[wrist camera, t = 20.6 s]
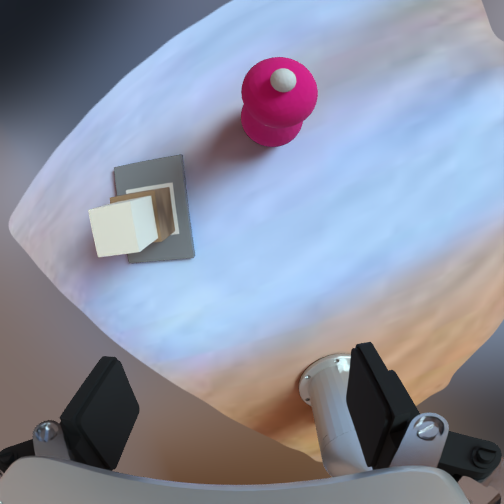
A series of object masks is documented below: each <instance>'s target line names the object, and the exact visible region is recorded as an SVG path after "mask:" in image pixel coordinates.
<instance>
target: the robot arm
mask: <svg viewBox="0 0 504 504" xmlns="http://www.w3.org/2000/svg"><path fill="white" fill-rule="evenodd" d="M299 393H300V396H301V398H302V399H303V401H304V402H305V403H307V404H308V405H310V406H312V411H313V416H314V421H315V426H316V431H317V436H318V441H319V446H320V451H321V456H322V461H323V465H324V467H325V469H326V471H327V472H328V473H329V474H330V475H331V476H332V478H325V479H318V480H310V481H302V482H293V483H281V484H265V485H212V484H194V483H183V482H174V481H165V480H158V479H151V478H145V477H139V476H133V475H128V474H123V473H119V472H114V471H112V470H113V469H115V468H116V467H117V464H118V462H119V460H120V457H121V455H122V452H123V450H124V447H125V445H126V442H127V440H128V438H129V435H130V433H131V430H132V428H133V426H134V423H135V421H136V419H137V416H138V414H139V405H138V402H137V400H136V398H135V396H134V393H133V391H132V389H131V386H130V384H129V381H128V379H127V376H126V374H125V372H124V369H123V366H122V364H121V362H120V361H118V360H117V358H116V357H107V356H104V357H102V358H101V359H100V360H99V362H98V363H97V365H96V366H95V367H94V369H93V370H92V371H91V373H90V374H89V376H88V377H87V378H86V380H85V381H84V383H83V384H82V385H81V387H80V388H79V390H78V391H77V393H76V394H75V396H74V397H73V398H72V400H71V401H70V403H69V404H68V406H67V407H66V409H65V410H64V412H63V413H62V415H61V416H60V419H61V422H60V424H59V423H58V422H56V421H54V420H47V421H44V422H41V423H40V424H38V425H37V426H36V427H35V429H34V431H33V436H32V437H33V439H32V440H28V441H25V442H23V443H20V444H17V445H14V446H11V447H8V448H5V449H3V450H2V451H1V452H0V504H470V503H469V501H468V500H467V498H468V499H470V500H471V501H473V502H472V504H504V458H503V457H501V456H502V454H501V450H500V449H499V447H498V446H497V445H496V444H495V443H493V442H490V441H486V440H482V439H478V438H474V437H469V436H466V435H462V434H458V433H454V432H451V431H449V426H448V423H447V421H446V420H445V419H444V418H443V417H442V416H440V415H438V414H435V413H423V414H420V413H419V411H418V410H417V408H416V406H415V404H414V403H413V401H412V399H411V397H410V396H409V394H408V392H407V391H406V389H405V387H404V386H403V384H402V382H401V381H400V379H399V377H398V376H397V374H396V373H395V371H393V370H389V371H388V369H387V368H386V366H385V364H384V363H383V361H382V359H381V358H380V356H379V354H378V353H377V351H376V349H375V348H374V346H373V344H372V343H371V342H367V343H361V344H357V345H356V348H353V349H352V350H351V355H350V354H334V355H330V356H327V357H324V358H322V359H320V360H318V361H316V362H314V363H313V364H312V365H310V366H309V367H308V368H307V369H306V370H305V371H304V373H303V374H302V376H301V378H300V381H299Z"/></svg>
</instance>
